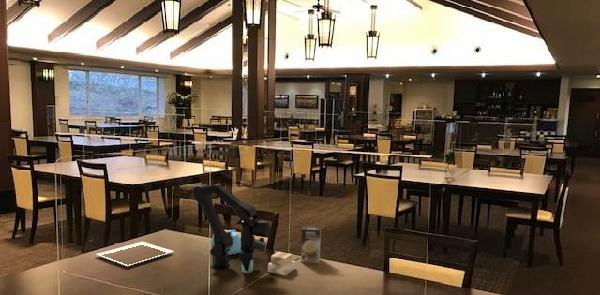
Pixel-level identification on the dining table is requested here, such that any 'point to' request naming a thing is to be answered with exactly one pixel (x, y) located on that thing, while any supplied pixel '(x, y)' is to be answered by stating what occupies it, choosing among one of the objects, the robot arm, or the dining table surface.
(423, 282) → the dining table surface
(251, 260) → the teal cylinder
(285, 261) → the oak top block
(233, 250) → the teapot
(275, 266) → the birch base block
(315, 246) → the coffee box
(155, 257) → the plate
